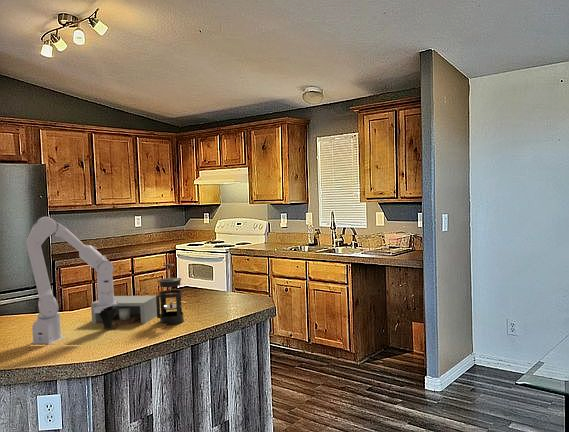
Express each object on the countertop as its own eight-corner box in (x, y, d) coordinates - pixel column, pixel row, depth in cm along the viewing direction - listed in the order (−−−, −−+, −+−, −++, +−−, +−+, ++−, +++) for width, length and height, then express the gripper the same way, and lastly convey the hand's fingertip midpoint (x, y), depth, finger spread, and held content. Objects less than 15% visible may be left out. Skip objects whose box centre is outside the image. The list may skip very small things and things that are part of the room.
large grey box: (145, 325, 201) (143, 303, 201) (92, 325, 205) (90, 303, 204) (158, 316, 214) (157, 295, 214) (108, 316, 218) (107, 296, 217)
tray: (122, 330, 195) (122, 324, 195) (95, 330, 197) (95, 324, 196) (141, 318, 212) (141, 313, 212) (116, 318, 213) (116, 313, 213)
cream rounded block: (127, 320, 206) (127, 309, 206) (117, 320, 207) (116, 309, 207) (132, 317, 211) (132, 306, 211) (122, 317, 211) (121, 306, 211)
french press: (175, 317, 212) (172, 261, 210) (190, 320, 206) (187, 263, 204) (151, 324, 202) (148, 265, 201) (166, 327, 197) (163, 267, 195)
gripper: (106, 295, 186) (108, 333, 187) (124, 287, 201) (126, 322, 201) (87, 295, 187) (90, 332, 188) (107, 287, 202) (109, 322, 202)
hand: (107, 327), depth 195 cm, fingers closed
